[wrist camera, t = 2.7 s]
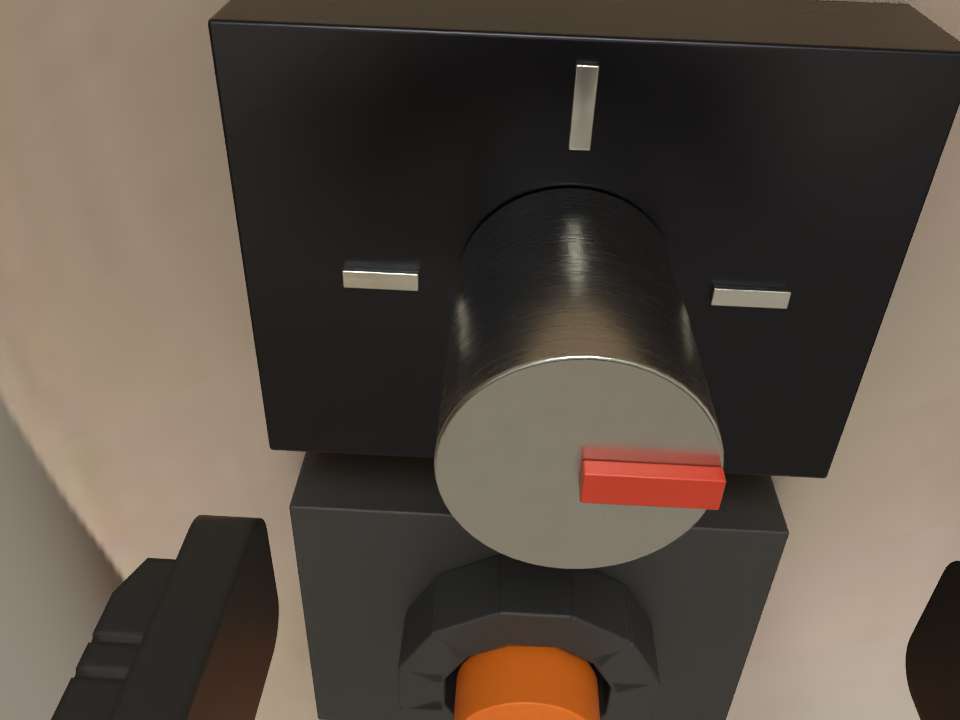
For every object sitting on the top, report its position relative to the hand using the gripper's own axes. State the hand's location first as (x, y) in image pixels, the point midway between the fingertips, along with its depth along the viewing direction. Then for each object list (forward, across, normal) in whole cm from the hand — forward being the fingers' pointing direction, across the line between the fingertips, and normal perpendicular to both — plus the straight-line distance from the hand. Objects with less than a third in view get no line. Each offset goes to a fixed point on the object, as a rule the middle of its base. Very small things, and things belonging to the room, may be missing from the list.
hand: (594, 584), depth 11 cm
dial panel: (+10, 0, 0) cm, 10 cm away
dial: (+7, 0, 0) cm, 7 cm away
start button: (+6, 0, +12) cm, 13 cm away
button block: (+10, 0, +12) cm, 15 cm away
